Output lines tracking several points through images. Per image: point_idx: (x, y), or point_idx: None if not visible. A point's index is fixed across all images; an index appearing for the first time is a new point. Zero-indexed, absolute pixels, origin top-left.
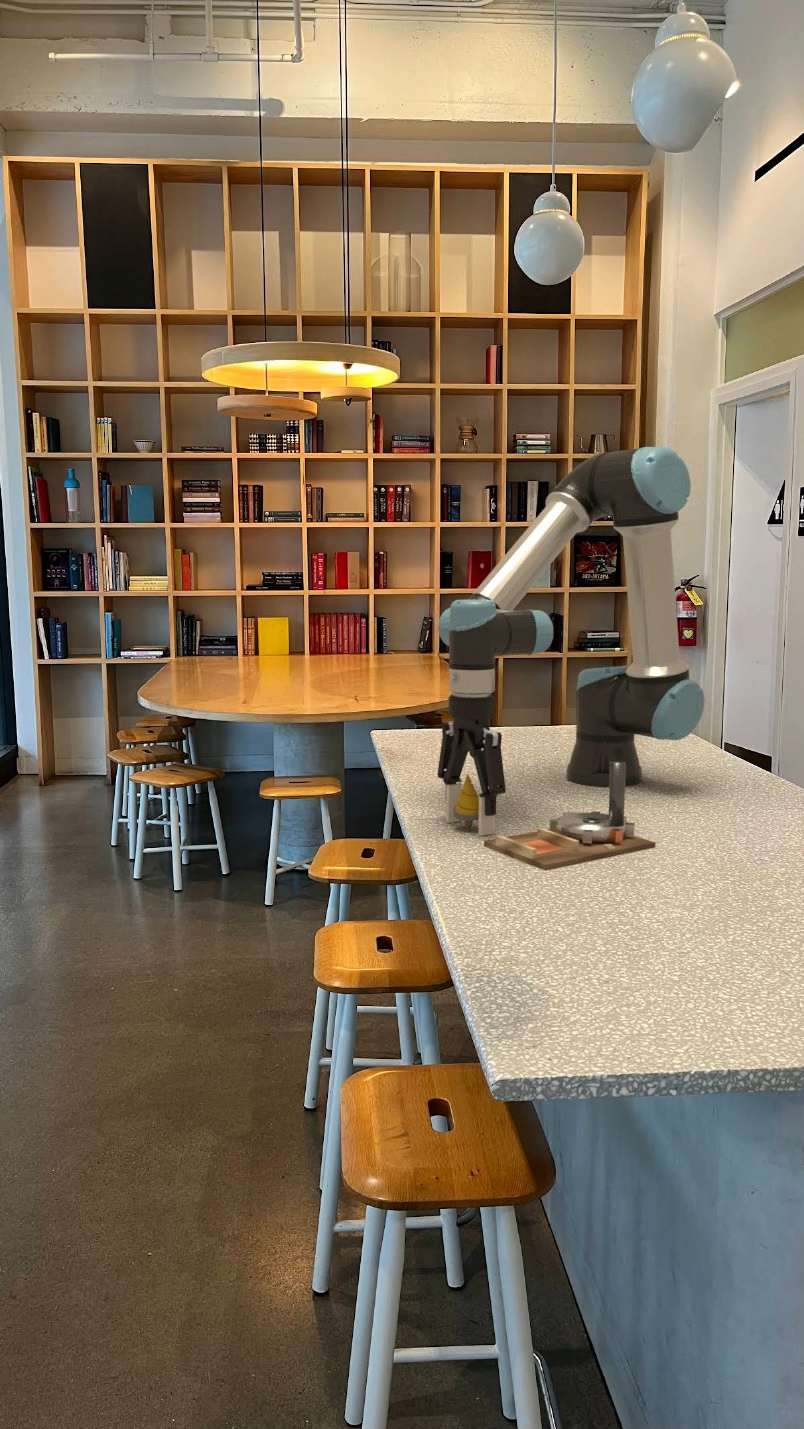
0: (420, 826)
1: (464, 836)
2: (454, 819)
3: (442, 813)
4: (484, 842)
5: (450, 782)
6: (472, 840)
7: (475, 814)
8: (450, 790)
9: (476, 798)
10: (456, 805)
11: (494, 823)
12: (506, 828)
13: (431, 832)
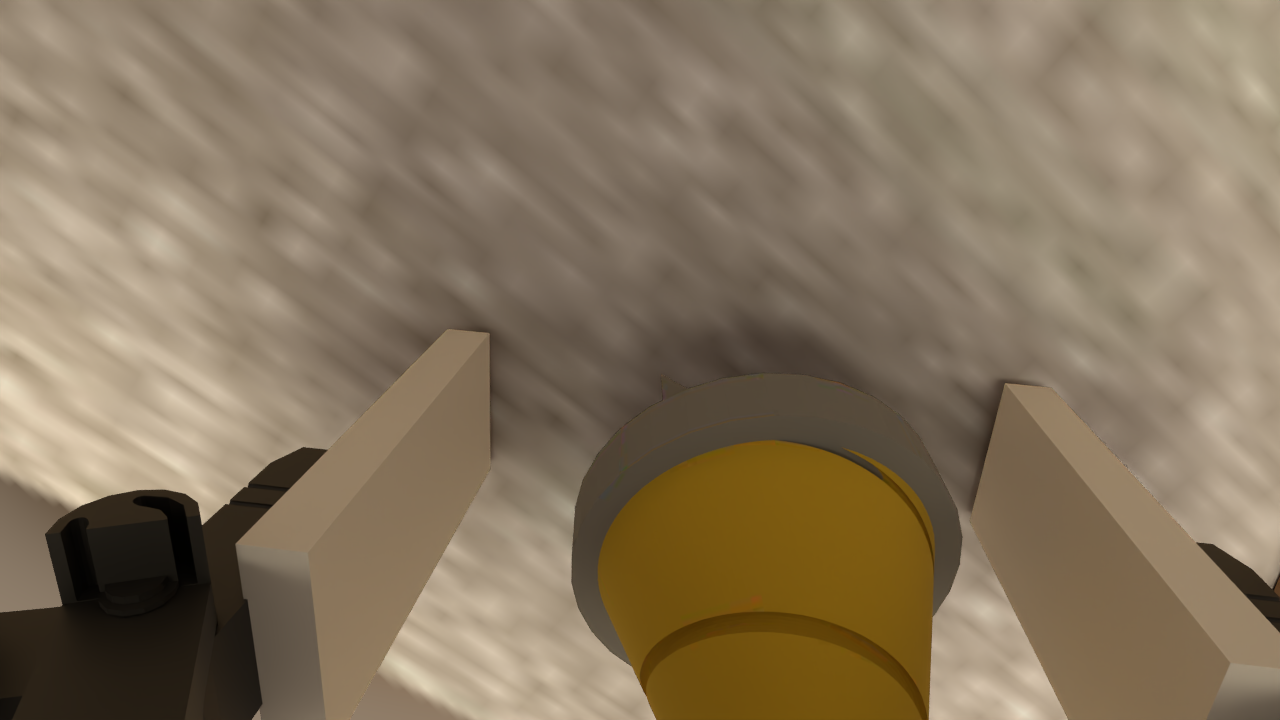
0: (423, 644)
1: None
2: (484, 421)
3: (110, 249)
4: None
5: (240, 713)
6: (1018, 621)
7: (934, 607)
8: (361, 675)
9: (926, 687)
10: (590, 616)
11: (1093, 436)
12: (960, 112)
13: (617, 688)
